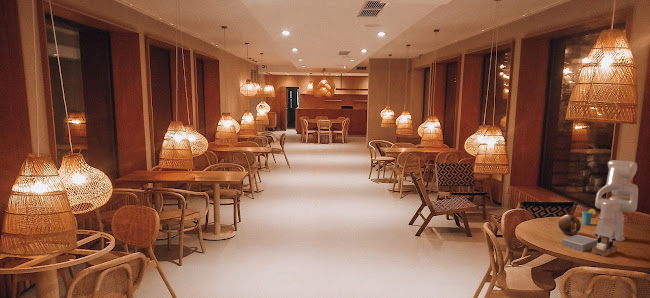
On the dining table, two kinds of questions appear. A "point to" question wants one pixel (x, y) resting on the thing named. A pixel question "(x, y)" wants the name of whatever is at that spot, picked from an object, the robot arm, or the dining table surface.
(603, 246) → the crate white
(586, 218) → the cup
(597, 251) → the wooden caddy
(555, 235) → the dining table surface
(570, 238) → the block
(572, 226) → the wooden sphere
